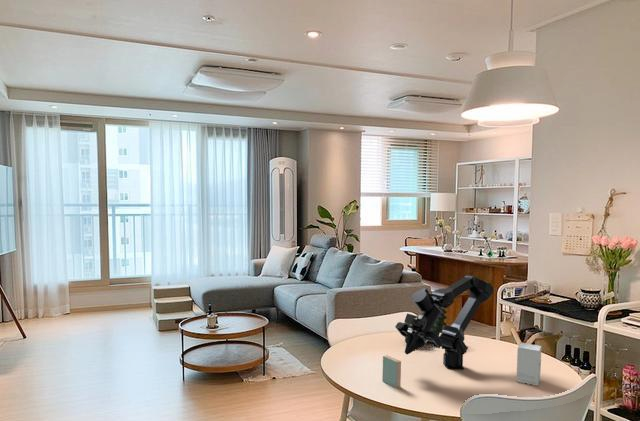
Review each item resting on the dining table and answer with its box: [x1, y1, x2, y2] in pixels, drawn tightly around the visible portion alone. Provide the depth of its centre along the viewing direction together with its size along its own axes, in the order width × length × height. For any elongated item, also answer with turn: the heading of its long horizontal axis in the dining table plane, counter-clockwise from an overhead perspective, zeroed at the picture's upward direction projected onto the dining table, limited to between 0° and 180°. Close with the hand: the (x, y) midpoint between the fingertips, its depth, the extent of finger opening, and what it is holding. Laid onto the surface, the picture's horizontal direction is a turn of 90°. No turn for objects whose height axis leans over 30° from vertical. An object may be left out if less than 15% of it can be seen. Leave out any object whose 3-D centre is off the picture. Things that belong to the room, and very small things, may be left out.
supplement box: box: [516, 342, 542, 386], centre depth 166 cm, size 7×7×13 cm
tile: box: [381, 355, 402, 389], centre depth 161 cm, size 2×7×9 cm, turn 35°
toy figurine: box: [403, 306, 448, 345], centre depth 209 cm, size 9×19×25 cm
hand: (405, 353), depth 165 cm, fingers closed
